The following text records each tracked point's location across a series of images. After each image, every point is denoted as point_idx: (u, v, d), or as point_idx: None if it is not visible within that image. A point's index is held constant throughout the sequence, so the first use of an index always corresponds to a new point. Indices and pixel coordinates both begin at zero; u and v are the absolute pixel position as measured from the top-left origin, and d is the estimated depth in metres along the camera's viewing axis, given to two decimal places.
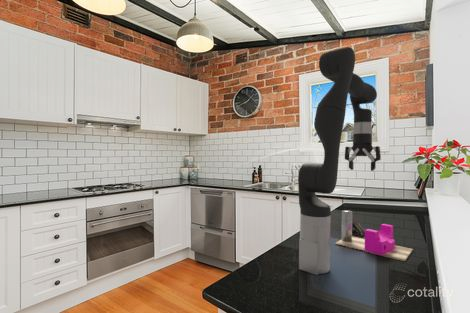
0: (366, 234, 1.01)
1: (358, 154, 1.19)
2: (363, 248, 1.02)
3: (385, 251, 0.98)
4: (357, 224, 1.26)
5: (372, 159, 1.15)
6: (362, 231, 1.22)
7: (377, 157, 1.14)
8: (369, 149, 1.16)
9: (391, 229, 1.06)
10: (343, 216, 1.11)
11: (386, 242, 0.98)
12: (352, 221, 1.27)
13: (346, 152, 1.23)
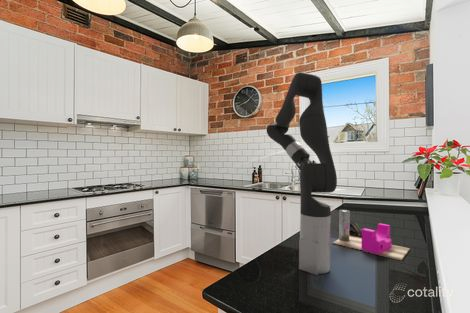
0: (363, 234, 1.01)
1: None
2: (360, 248, 1.03)
3: (382, 250, 0.98)
4: (354, 224, 1.26)
5: None
6: (360, 231, 1.22)
7: None
8: (311, 162, 1.26)
9: (388, 228, 1.07)
10: (340, 216, 1.12)
11: (383, 241, 0.99)
12: None
13: (303, 165, 1.19)
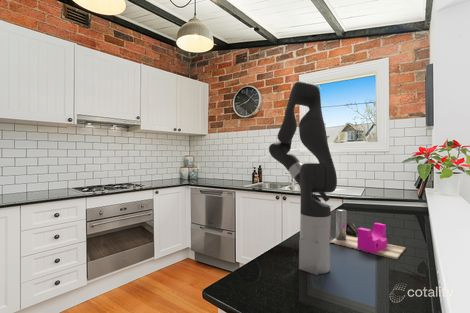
0: (359, 233, 1.02)
1: None
2: (356, 247, 1.04)
3: (377, 249, 0.99)
4: (352, 225, 1.25)
5: None
6: (357, 232, 1.21)
7: None
8: None
9: (384, 228, 1.08)
10: (337, 215, 1.13)
11: (378, 240, 1.00)
12: (347, 222, 1.25)
13: None
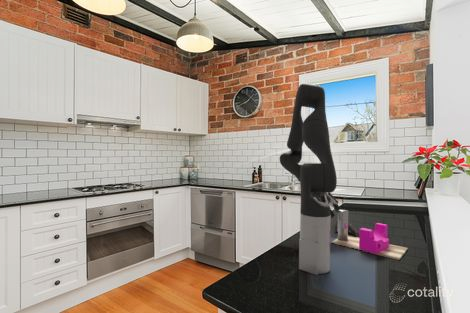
0: (360, 233, 1.02)
1: None
2: (358, 247, 1.03)
3: (379, 250, 0.99)
4: (349, 225, 1.25)
5: (336, 202, 1.20)
6: (355, 232, 1.21)
7: (336, 200, 1.21)
8: None
9: (385, 228, 1.08)
10: (339, 215, 1.12)
11: (380, 241, 0.99)
12: None
13: (320, 200, 1.13)
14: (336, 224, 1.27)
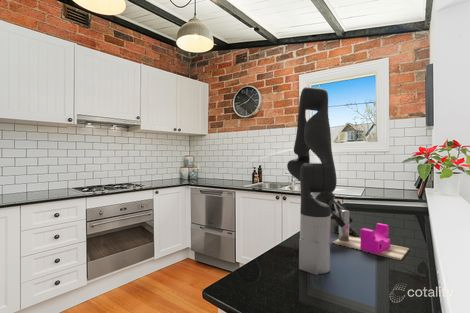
0: (362, 234, 1.01)
1: (336, 209, 1.14)
2: None
3: (381, 250, 0.99)
4: None
5: None
6: (355, 231, 1.21)
7: (345, 208, 1.19)
8: None
9: (386, 228, 1.07)
10: (340, 216, 1.12)
11: (382, 241, 0.99)
12: None
13: (330, 209, 1.10)
14: (335, 224, 1.26)
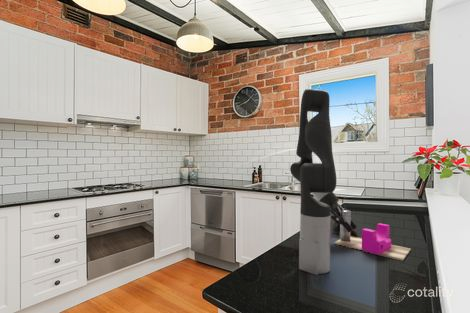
0: (363, 234, 1.01)
1: (340, 212, 1.13)
2: (361, 248, 1.03)
3: (382, 250, 0.98)
4: None
5: None
6: None
7: None
8: None
9: (387, 228, 1.07)
10: None
11: (383, 241, 0.99)
12: None
13: (337, 214, 1.09)
14: (334, 225, 1.25)
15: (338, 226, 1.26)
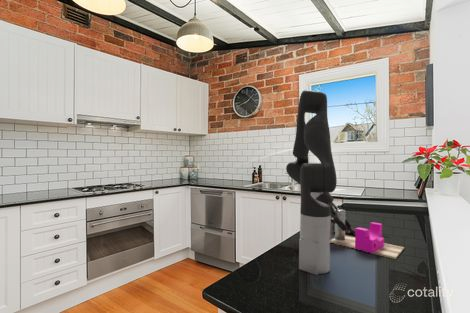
0: (356, 233, 1.02)
1: (335, 211, 1.15)
2: None
3: (375, 249, 1.00)
4: None
5: None
6: None
7: None
8: None
9: (380, 227, 1.09)
10: None
11: (376, 240, 1.00)
12: None
13: (331, 214, 1.11)
14: (334, 225, 1.26)
15: None
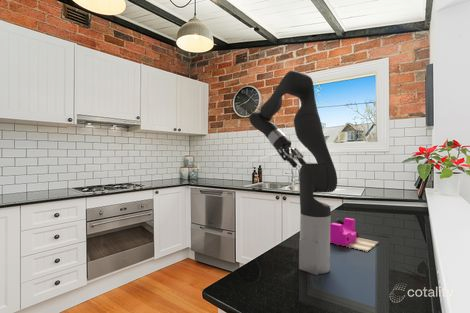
0: (331, 228, 1.09)
1: (291, 153, 1.22)
2: None
3: (348, 242, 1.07)
4: None
5: (301, 156, 1.26)
6: None
7: (301, 154, 1.27)
8: None
9: (353, 222, 1.16)
10: None
11: (349, 234, 1.07)
12: (342, 222, 1.24)
13: (284, 151, 1.19)
14: None
15: None
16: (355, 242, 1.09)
